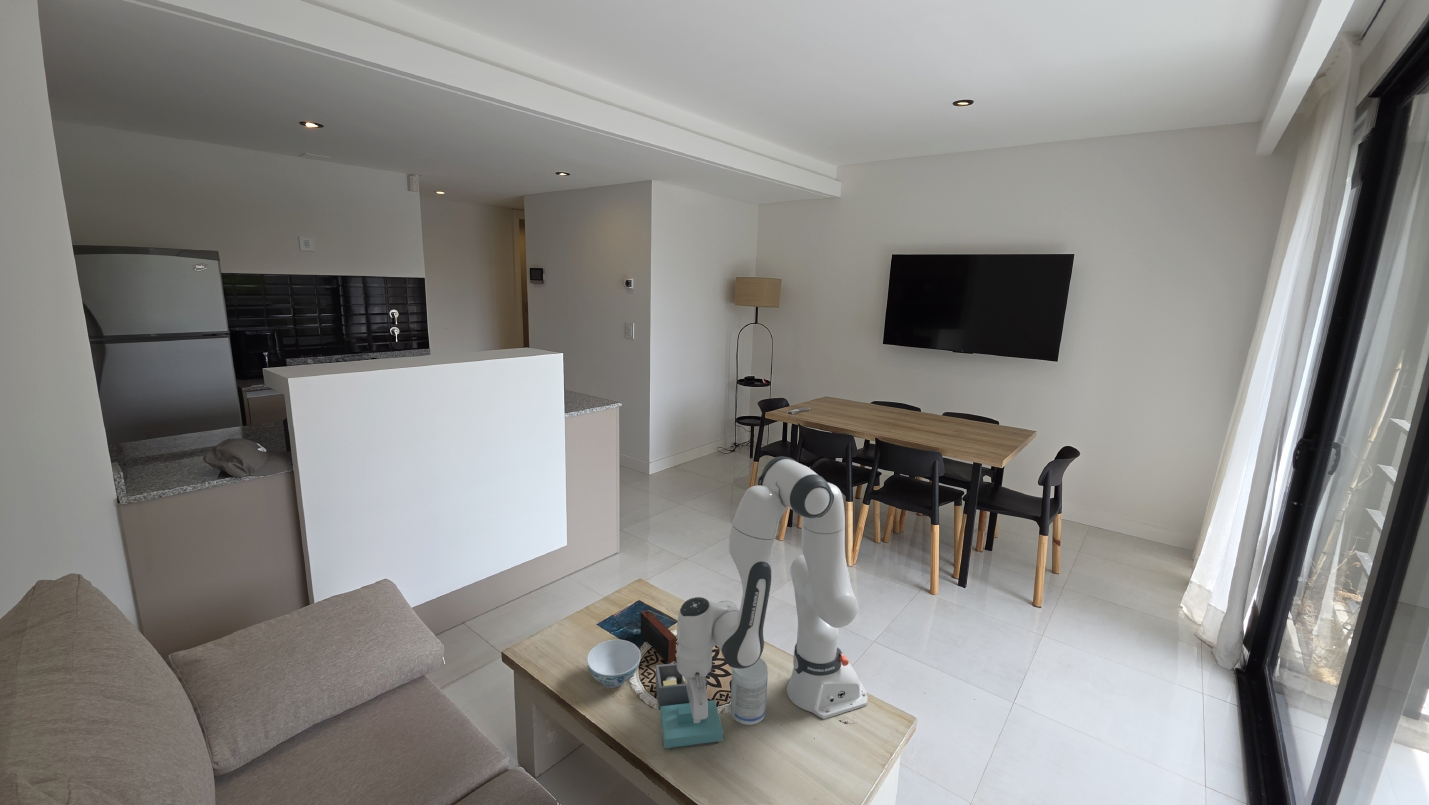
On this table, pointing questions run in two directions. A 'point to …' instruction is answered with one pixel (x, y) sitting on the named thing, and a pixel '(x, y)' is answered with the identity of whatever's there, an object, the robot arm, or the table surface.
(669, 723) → the lid
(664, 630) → the radio
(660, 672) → the storage box
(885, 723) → the table surface
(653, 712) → the table surface
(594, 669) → the chinaware
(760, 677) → the supplement tub
